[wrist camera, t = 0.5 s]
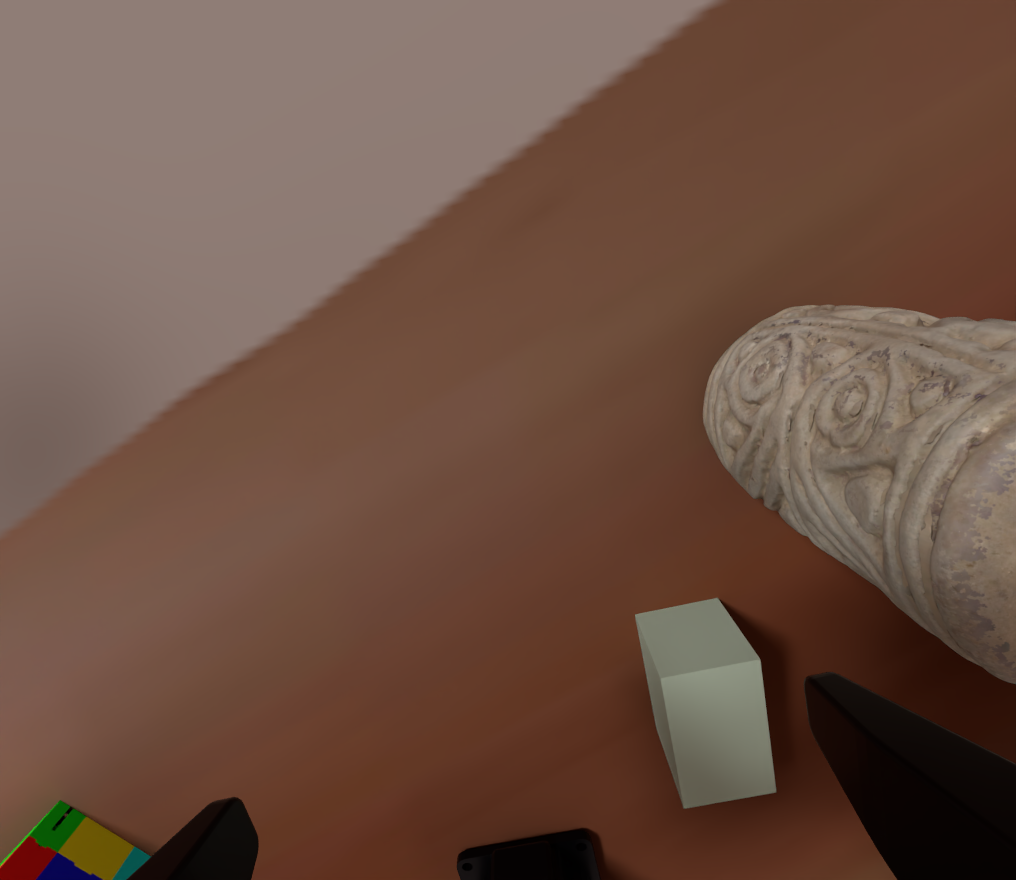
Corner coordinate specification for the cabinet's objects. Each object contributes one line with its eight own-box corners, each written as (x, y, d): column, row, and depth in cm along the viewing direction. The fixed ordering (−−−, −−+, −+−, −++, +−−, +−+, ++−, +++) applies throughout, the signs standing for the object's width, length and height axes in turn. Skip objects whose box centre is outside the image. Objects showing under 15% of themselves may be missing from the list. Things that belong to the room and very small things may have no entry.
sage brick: (733, 712, 24) (776, 792, 20) (655, 726, 24) (684, 808, 20) (716, 596, 22) (760, 659, 19) (634, 612, 23) (660, 678, 19)
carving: (747, 523, 21) (1034, 794, 10) (654, 367, 20) (865, 471, 8) (895, 438, 20) (1402, 625, 9) (810, 267, 19) (1299, 222, 7)
